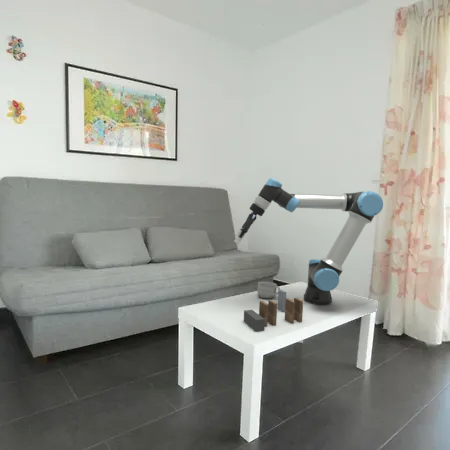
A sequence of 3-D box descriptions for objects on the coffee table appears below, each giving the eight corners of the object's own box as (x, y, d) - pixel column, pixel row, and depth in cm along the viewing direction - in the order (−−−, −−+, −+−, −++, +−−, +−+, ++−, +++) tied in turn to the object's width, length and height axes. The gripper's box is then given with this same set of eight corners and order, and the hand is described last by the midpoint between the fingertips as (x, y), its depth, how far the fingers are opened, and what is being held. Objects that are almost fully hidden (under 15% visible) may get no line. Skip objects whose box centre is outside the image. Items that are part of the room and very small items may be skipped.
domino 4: (287, 319, 155) (288, 298, 154) (293, 323, 151) (294, 301, 150) (284, 319, 155) (285, 298, 154) (290, 323, 150) (291, 301, 149)
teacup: (253, 296, 190) (253, 282, 189) (267, 293, 196) (267, 279, 195) (270, 302, 178) (271, 288, 178) (284, 299, 185) (285, 285, 184)
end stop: (251, 320, 152) (252, 309, 152) (264, 330, 141) (264, 319, 141) (243, 321, 151) (244, 310, 150) (255, 331, 140) (256, 320, 139)
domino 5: (295, 318, 157) (296, 297, 156) (302, 322, 152) (303, 300, 151) (292, 318, 156) (294, 297, 155) (299, 322, 152) (300, 301, 151)
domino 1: (261, 322, 150) (262, 300, 149) (267, 326, 146) (268, 304, 145) (258, 322, 150) (259, 301, 149) (263, 327, 145) (265, 304, 144)
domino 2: (270, 321, 152) (271, 299, 151) (276, 325, 147) (277, 303, 146) (267, 321, 151) (268, 300, 150) (272, 325, 147) (274, 303, 146)
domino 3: (280, 308, 170) (281, 289, 169) (285, 311, 165) (286, 292, 164) (277, 308, 169) (278, 289, 168) (282, 312, 165) (283, 292, 164)
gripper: (252, 201, 183) (231, 233, 185) (253, 203, 158) (229, 240, 160) (264, 209, 183) (242, 241, 185) (267, 211, 158) (242, 248, 160)
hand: (236, 240), depth 173 cm, fingers open, 13 cm apart
